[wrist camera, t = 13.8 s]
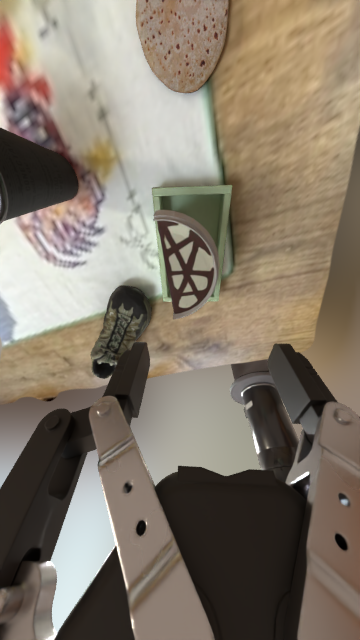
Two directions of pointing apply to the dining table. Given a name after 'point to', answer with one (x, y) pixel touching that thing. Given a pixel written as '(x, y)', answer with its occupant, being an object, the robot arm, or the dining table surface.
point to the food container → (187, 261)
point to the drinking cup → (31, 177)
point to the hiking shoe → (120, 328)
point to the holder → (204, 208)
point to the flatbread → (182, 39)
